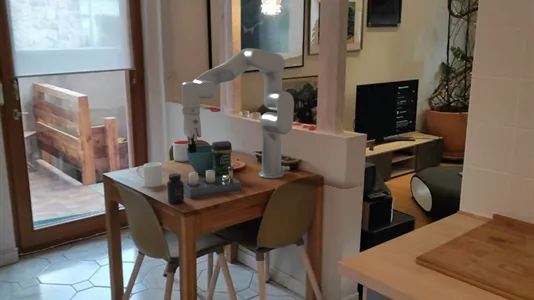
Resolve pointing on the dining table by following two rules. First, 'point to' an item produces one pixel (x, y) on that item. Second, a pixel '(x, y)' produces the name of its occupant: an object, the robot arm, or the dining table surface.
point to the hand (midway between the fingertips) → (192, 152)
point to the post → (230, 174)
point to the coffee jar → (221, 157)
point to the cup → (180, 151)
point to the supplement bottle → (175, 189)
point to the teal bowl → (201, 158)
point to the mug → (151, 174)
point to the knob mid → (210, 176)
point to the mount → (211, 187)
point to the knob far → (193, 179)
